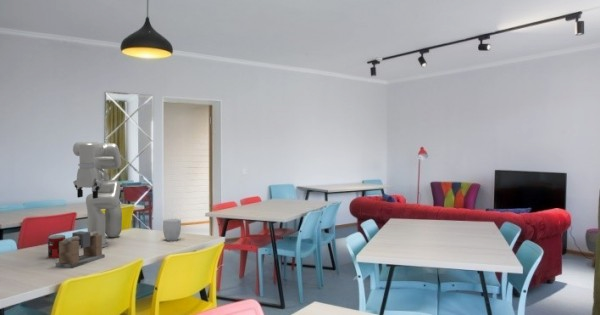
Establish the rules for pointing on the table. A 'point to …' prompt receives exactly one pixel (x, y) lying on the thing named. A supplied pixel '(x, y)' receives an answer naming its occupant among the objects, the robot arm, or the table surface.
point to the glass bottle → (113, 221)
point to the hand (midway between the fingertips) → (87, 197)
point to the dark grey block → (83, 238)
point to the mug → (171, 228)
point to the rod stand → (71, 251)
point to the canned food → (54, 245)
